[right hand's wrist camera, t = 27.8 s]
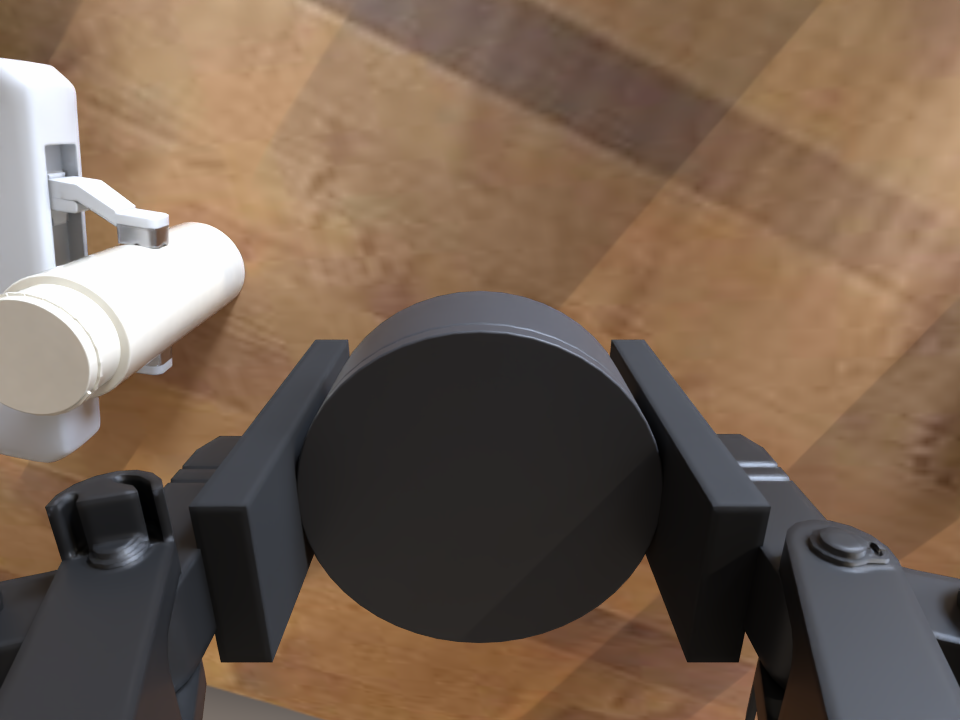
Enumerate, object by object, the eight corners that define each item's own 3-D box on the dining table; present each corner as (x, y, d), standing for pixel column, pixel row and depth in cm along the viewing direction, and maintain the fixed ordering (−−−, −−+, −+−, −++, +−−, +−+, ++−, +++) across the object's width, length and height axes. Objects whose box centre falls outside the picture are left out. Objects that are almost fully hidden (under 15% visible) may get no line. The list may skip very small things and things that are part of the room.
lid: (341, 557, 13) (314, 643, 11) (314, 289, 11) (274, 330, 9) (617, 557, 13) (644, 644, 11) (645, 290, 11) (686, 331, 9)
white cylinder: (136, 266, 37) (-79, 358, 22) (189, 202, 35) (-4, 257, 21) (209, 326, 38) (51, 449, 24) (263, 267, 37) (129, 359, 22)
